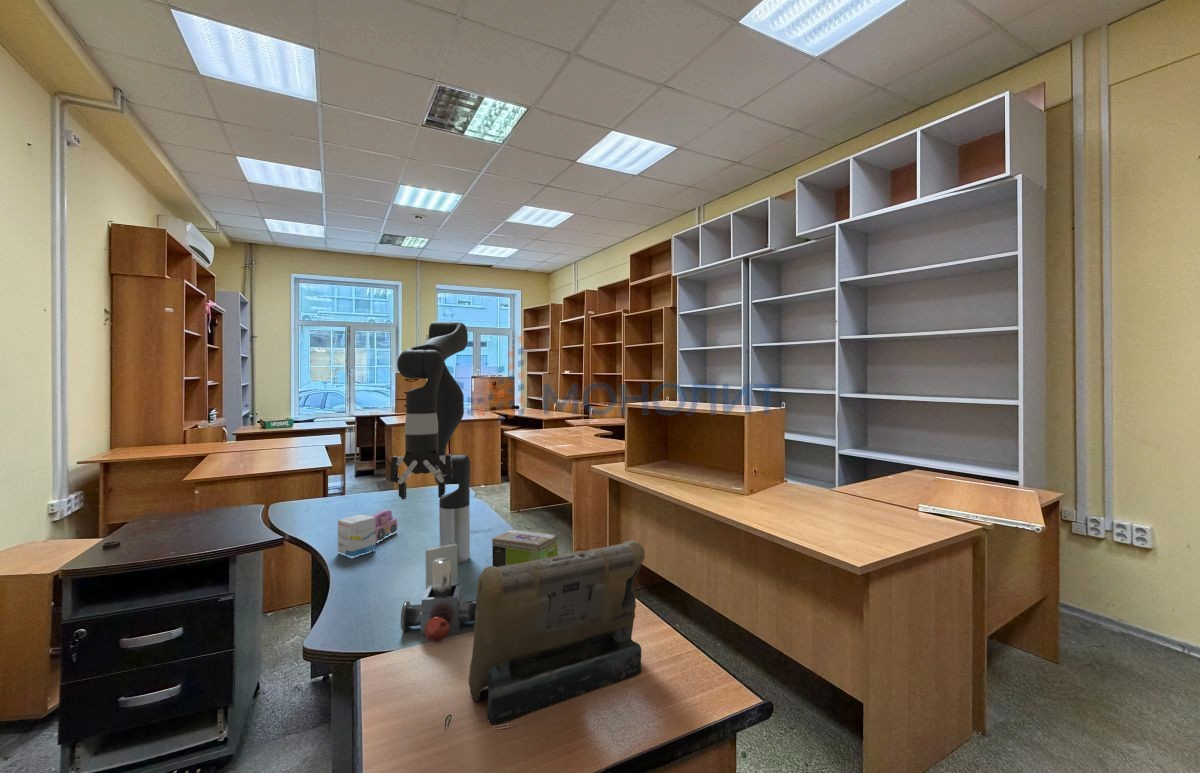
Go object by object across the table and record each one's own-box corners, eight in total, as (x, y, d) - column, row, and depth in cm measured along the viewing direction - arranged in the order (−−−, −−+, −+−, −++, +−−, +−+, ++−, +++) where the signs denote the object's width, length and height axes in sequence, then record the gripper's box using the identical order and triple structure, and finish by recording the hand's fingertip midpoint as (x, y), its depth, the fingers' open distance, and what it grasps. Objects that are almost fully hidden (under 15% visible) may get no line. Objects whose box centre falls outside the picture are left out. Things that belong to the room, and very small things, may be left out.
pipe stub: (435, 599, 110) (434, 558, 109) (452, 597, 111) (451, 557, 110) (431, 609, 106) (430, 566, 105) (450, 607, 107) (449, 565, 106)
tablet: (612, 638, 103) (611, 524, 103) (653, 670, 91) (652, 541, 91) (463, 693, 85) (462, 554, 85) (491, 741, 73) (490, 580, 73)
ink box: (376, 551, 158) (376, 517, 158) (351, 559, 151) (351, 523, 151) (361, 547, 163) (361, 513, 163) (337, 554, 156) (336, 519, 156)
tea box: (559, 588, 129) (558, 533, 129) (539, 603, 120) (539, 545, 120) (513, 579, 135) (513, 527, 135) (491, 593, 126) (491, 537, 126)
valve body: (408, 620, 111) (408, 586, 111) (481, 614, 114) (481, 581, 114) (395, 647, 100) (395, 609, 100) (477, 640, 102) (476, 603, 102)
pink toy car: (376, 546, 164) (376, 517, 164) (359, 545, 165) (359, 517, 165) (404, 530, 182) (403, 504, 182) (388, 530, 182) (388, 504, 182)
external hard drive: (458, 590, 127) (457, 544, 127) (426, 598, 123) (426, 550, 123) (456, 588, 129) (456, 543, 129) (425, 596, 124) (424, 548, 124)
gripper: (454, 429, 120) (454, 493, 120) (394, 430, 118) (395, 495, 118) (449, 432, 113) (450, 500, 113) (386, 433, 110) (387, 503, 111)
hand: (422, 497), depth 115 cm, fingers open, 8 cm apart
